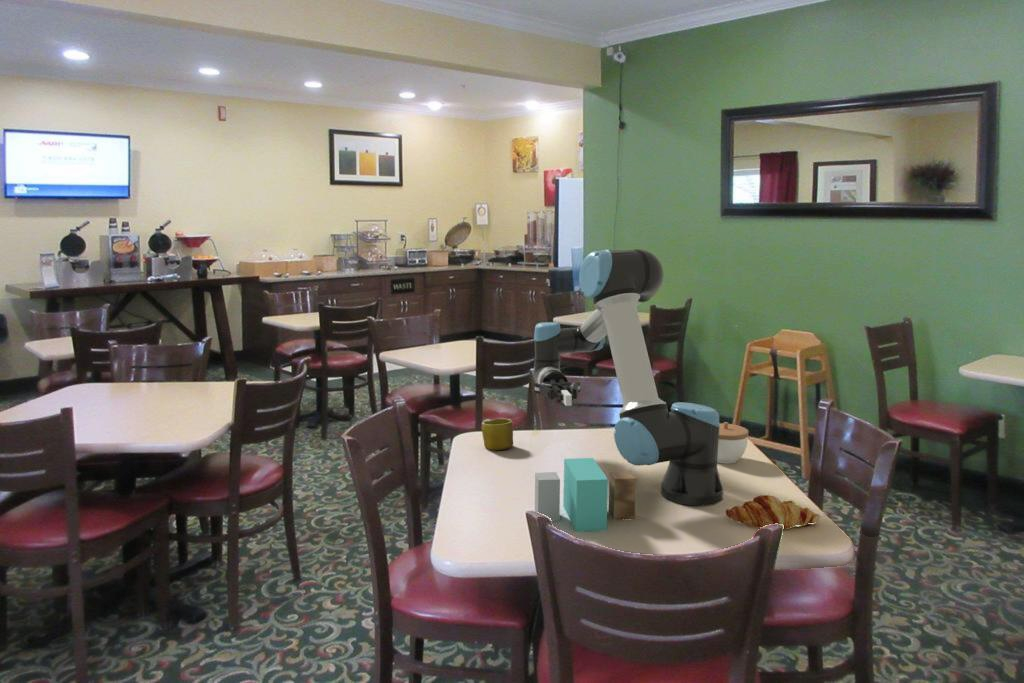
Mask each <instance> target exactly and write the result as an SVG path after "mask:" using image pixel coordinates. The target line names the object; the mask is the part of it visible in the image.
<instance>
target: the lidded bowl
mask: <svg viewBox="0 0 1024 683" xmlns="http://www.w3.org/2000/svg"><path fill="white" fill-rule="evenodd" d="M719 425H720V428H719V442H718V457H717V464H723V465H724V464H725V465H729V464H735V463H737V462H738V460H740V459H741V458H742V457H743V456H744V454H745V452H746V451H747V446H748V439H749V435H750V434H749V432H750V431H749V429H747V428H746V427H745V426H744V427H743V426H741V425H738V424H734V423H729V422H728V421H727V422H726V421H724V422H723V423H721V422H719Z"/></svg>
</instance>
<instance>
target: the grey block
mask: <svg viewBox="0 0 1024 683" xmlns="http://www.w3.org/2000/svg"><path fill="white" fill-rule="evenodd" d="M534 473H535V474H534V512H535V511H536V512H539V513H541V514H544V515H546V516H548V517H549V518H551V520H552V521H551V522H559V521H560V512H561V510H560V508H561V506H560V505H561V502H560V500H561V498H560V497H561V495H560V494H561V492H560V491H561V479H560V477H559V474H558V472H556V471H548V472H545V471H544V472H534Z"/></svg>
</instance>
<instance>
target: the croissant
mask: <svg viewBox="0 0 1024 683" xmlns="http://www.w3.org/2000/svg"><path fill="white" fill-rule="evenodd" d="M778 498H779V497H776V496H774V495H769V494H759V495H757V496H755V497H753V499H752V500H746V501H745V502H744V503H743V504H742V505H735V506H733V507H732V508H727V509H725V515H726V516H727V518H729V519H732V521H735V522H738V523H740V524H741V525H744V526H747V527H749V526H750V527H749V528H753V527H754V528H757V527H758V528H759V529H761V528H760V527H763V526H765V525H769V524H775V523H778V524H783V525H784V530H788V529H787V528H790V527H793V526H795V525H804V524H808V523H815V522H817V523H819V522H820V519H821V515H820V514H819V513H815V512H814V511H812V509H810V508H808V507H802V506H800V505H798V504H796V503H795V501H793V500H787V501H786V500H783V502H782V501H781V500H780V499H778ZM815 524H816V523H815ZM793 528H794V527H793ZM790 529H791V528H790Z"/></svg>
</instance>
